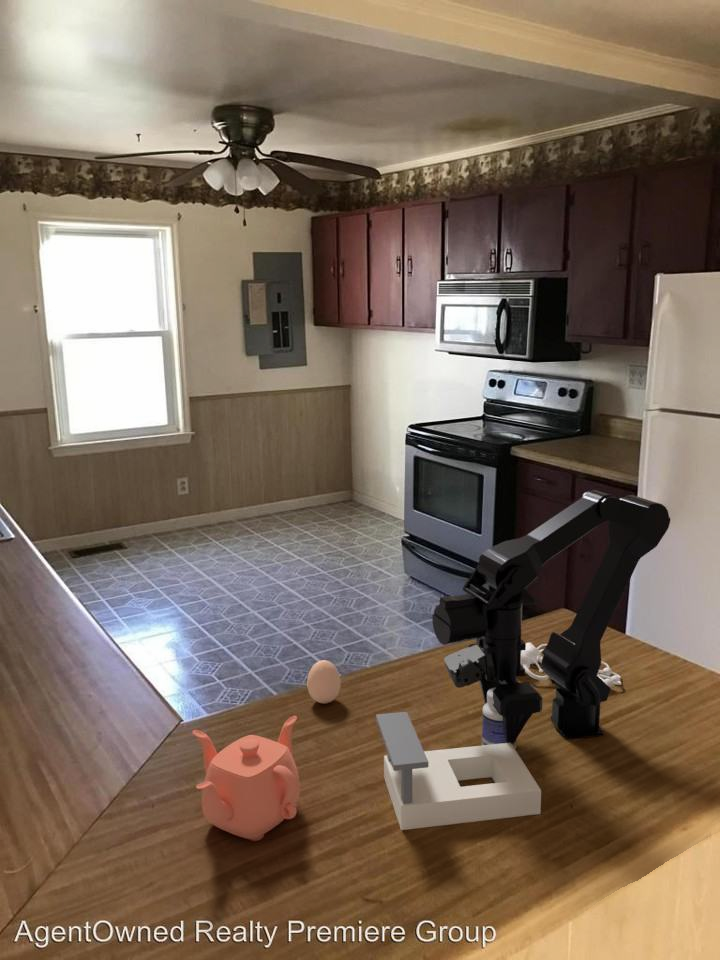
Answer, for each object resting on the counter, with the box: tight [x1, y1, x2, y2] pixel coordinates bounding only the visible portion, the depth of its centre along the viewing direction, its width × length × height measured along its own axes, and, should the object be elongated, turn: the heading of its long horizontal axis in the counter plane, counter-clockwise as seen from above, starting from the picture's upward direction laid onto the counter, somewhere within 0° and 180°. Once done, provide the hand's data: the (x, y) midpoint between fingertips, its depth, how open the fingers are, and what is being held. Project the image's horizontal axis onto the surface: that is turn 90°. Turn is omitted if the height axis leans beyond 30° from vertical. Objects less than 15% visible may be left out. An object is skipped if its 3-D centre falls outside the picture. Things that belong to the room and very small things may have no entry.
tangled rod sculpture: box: [521, 641, 622, 689], centre depth 145 cm, size 19×14×4 cm
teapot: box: [192, 715, 301, 842], centre depth 104 cm, size 14×14×11 cm
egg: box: [306, 659, 342, 704], centre depth 136 cm, size 6×6×8 cm
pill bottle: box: [481, 688, 517, 750], centre depth 121 cm, size 5×5×9 cm
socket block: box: [375, 711, 542, 831], centre depth 109 cm, size 20×13×10 cm, turn 99°
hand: (499, 727), depth 121 cm, fingers open, 9 cm apart
